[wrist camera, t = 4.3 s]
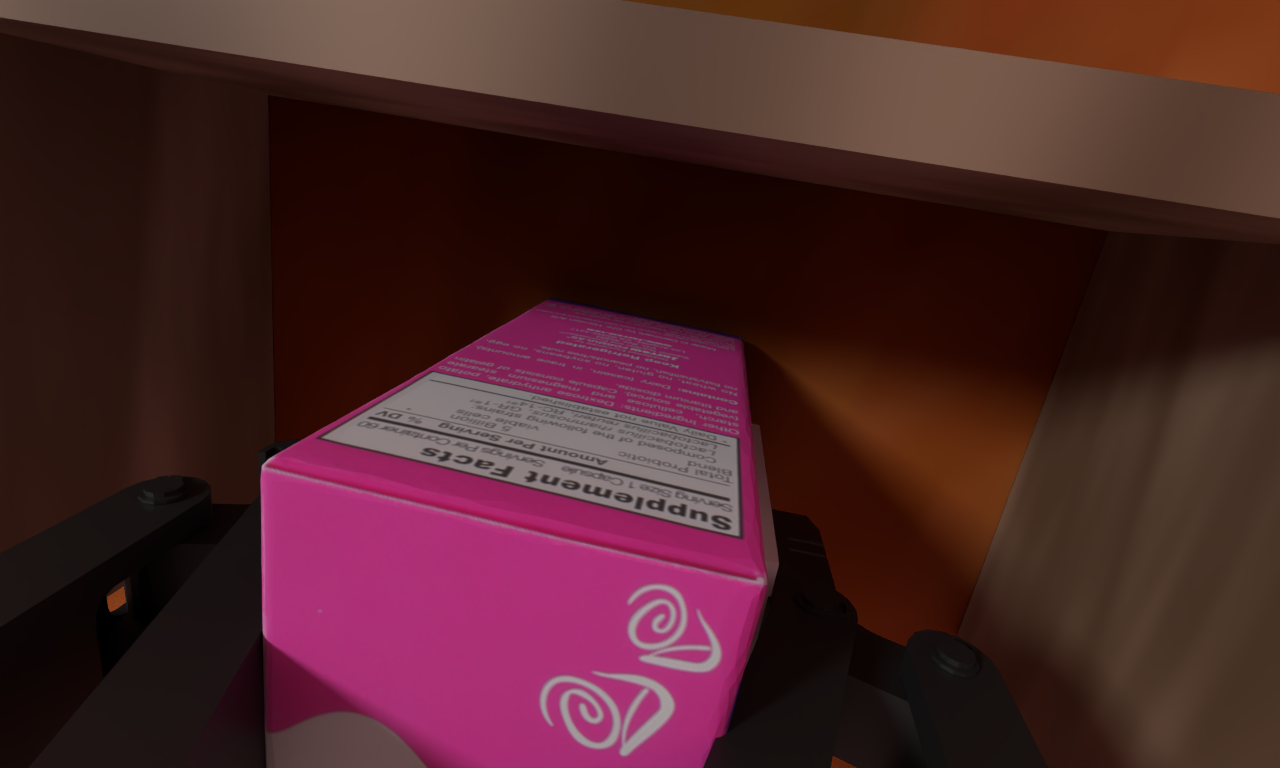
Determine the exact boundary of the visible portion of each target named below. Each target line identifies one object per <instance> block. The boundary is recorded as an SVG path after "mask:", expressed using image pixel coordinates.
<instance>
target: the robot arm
mask: <svg viewBox="0 0 1280 768" xmlns="http://www.w3.org/2000/svg"><path fill="white" fill-rule="evenodd" d="M751 426H752V435H753V445H754V455H755V462H756V475H757V484H758V493H759V504H760V515H761V525H762V535H763V545H764V555H765V563H766V569H767V575H768V586H767V592H766V595H765V599H764V602H763V606H762V609H761V613H760V616H759V620H758V623H757V627H756V630H755V633H754V637H753V640H752V644H751V648H750V651H749V655H748V659H747V662H746V666H745V670H744V673H743V677H742V680H741V684H740V688H739V691H738V695H737V699H736V702H735V706H734V710H733V713H732V717H731V720H730V724H729V727H728V731H727V734H725V735H723V736H721V737H717V738H715V740H714V743H713V745H712V747H711V750H710V752H709V755H708V757H707V759H706V762H705V764H704V766H703V768H830V767H831V762H832V756H835V757H837V758H839V759H841V760H843V761H845V762H847V763H849V764H851V765H853V766H855V767H857V768H1048V766H1047V764H1046V762H1045V760H1044V758H1043V757H1042V755H1041V753H1040V751H1039V749H1038V747H1037V745H1036V743H1035V741H1034V739H1033V737H1032V735H1031V733H1030V731H1029V729H1028V727H1027V725H1026V723H1025V721H1024V719H1023V717H1022V715H1021V713H1020V711H1019V709H1018V707H1017V705H1016V703H1015V701H1014V699H1013V697H1012V695H1011V693H1010V691H1009V689H1008V687H1007V685H1006V683H1005V681H1004V679H1003V677H1002V675H1001V673H1000V671H999V670H998V669H997V667H996V666H995V665H994V663H993V662H992V661H991V659H990V658H989V657H987V656H986V655H985V654H984V653H983V652H981V651H980V650H979V649H978V648H976V647H975V646H974V645H972V644H970V643H969V642H966V641H964V640H963V639H961V638H959V637H957V636H953V635H950V634H947V633H944V632H939V631H931V630H924V631H919V632H915V633H914V634H913V635H912V636H911V637H910V638H909V640H908V643H907V646H906V647H904V646H902V645H900V644H897V643H895V642H892V641H890V640H888V639H885V638H883V637H880V636H878V635H876V634H874V633H872V632H870V631H868V630H867V629H865V628H864V627H862V626H861V625H859V624H858V623H857V622H858V618H857V612H856V609H855V608H854V606H853V605H852V604H851V602H850V601H849V600H848V599H847V598H845V597H844V596H843V595H842V594H840V593H839V592H838V591H836V589H835V585H834V582H833V578H832V574H831V571H830V567H829V564H828V560H827V558H826V553H825V549H824V546H823V542H822V538H821V535H820V531H819V529H818V528H817V527H816V526H815V525H814V524H813V523H812V522H811V521H810V520H809V518H808V517H807V516H803V515H798V514H793V513H788V512H783V511H778V510H773V509H771V503H770V496H769V489H768V482H767V475H766V468H765V460H764V453H763V446H762V439H761V432H760V425H758V424H752V423H751ZM301 440H303V439H295V440H288V441H281V442H278V443H275V444H272V445H269V446H266V447H265V448H263V449H262V450H260V451H258V469H259V496H258V497H257V498H256V499H255V500H254V502H253V503H252V504H212V491H211V486H210V485H209V484H208V483H207V482H206V481H205V480H202V479H199V478H196V477H188V476H181V475H171V476H170V477H169V476H160V477H157V478H155V479H150V480H146V481H142V482H139V483H137V484H134V485H132V486H129V487H127V488H125V489H123V490H121V491H119V492H117V493H115V494H113V495H112V496H110V497H108V498H106V499H104V500H102V501H100V502H98V503H96V504H94V505H92V506H90V507H88V508H87V509H85V510H83V511H81V512H79V513H77V514H75V515H73V516H71V517H69V518H67V519H65V520H64V521H62V522H60V523H58V524H56V525H54V526H52V527H50V528H48V529H46V530H44V531H42V532H40V533H39V534H37V535H35V536H33V537H31V538H29V539H27V540H25V541H23V542H21V543H19V544H17V545H16V546H14V547H12V548H10V549H8V550H6V551H4V552H2V553H0V768H266V756H265V728H264V682H263V624H262V565H261V481H260V479H261V470H262V465H263V464H264V463H265V462H266V461H267V460H268V459H269V458H271V457H273V456H274V455H276V454H278V453H280V452H281V451H283V450H285V449H287V448H288V447H290V446H292V445H294V444H295V443H297V442H299V441H301ZM122 581H124V588H125V597H126V603H125V604H123V605H122V606H121V607H119V608H118V609H116V610H114V611H112V612H110V611H109V609H108V604H107V597H106V595H107V594H108V593H109V592H110V591H111V590H112V589H113V588H114V587H115V586H116V585H118V584H119V583H121V582H122Z"/></svg>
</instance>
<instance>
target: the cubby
mask: <svg viewBox="0 0 1280 768" xmlns="http://www.w3.org/2000/svg"><path fill="white" fill-rule="evenodd" d="M268 95H271V96H277V97H284V98H290V99H296V100H302V101H308V102H314V103H321V104H327V105H333V106H339V107H345V108H352V109H358V110H364V111H370V112H376V113H382V114H389V115H395V116H401V117H407V118H413V119H419V120H426V121H432V122H438V123H444V124H450V125H456V126H463V127H469V128H475V129H481V130H487V131H494V132H500V133H506V134H512V135H518V136H524V137H531V138H537V139H543V140H549V141H555V142H561V143H568V144H574V145H580V146H586V147H592V148H598V149H605V150H611V151H617V152H623V153H629V154H635V155H642V156H648V157H654V158H660V159H666V160H673V161H679V162H685V163H691V164H697V165H703V166H710V167H716V168H722V169H728V170H734V171H740V172H747V173H753V174H759V175H765V176H771V177H777V178H784V179H790V180H796V181H802V182H808V183H814V184H821V185H827V186H833V187H839V188H845V189H852V190H858V191H864V192H870V193H876V194H882V195H889V196H895V197H901V198H907V199H913V200H919V201H926V202H932V203H938V204H944V205H950V206H956V207H963V208H969V209H975V210H981V211H987V212H993V213H1000V214H1006V215H1012V216H1018V217H1024V218H1031V219H1037V220H1043V221H1049V222H1055V223H1061V224H1068V225H1074V226H1080V227H1086V228H1092V229H1098V230H1105V231H1108V234H1107V236H1106V239H1105V242H1104V244H1103V247H1102V250H1101V252H1100V255H1099V258H1098V260H1097V263H1096V266H1095V268H1094V271H1093V274H1092V276H1091V279H1090V282H1089V284H1088V287H1087V290H1086V292H1085V295H1084V298H1083V300H1082V303H1081V306H1080V308H1079V311H1078V314H1077V316H1076V319H1075V322H1074V324H1073V327H1072V330H1071V332H1070V335H1069V338H1068V340H1067V343H1066V346H1065V348H1064V351H1063V354H1062V356H1061V359H1060V362H1059V364H1058V367H1057V370H1056V372H1055V375H1054V378H1053V380H1052V383H1051V386H1050V388H1049V391H1048V394H1047V396H1046V399H1045V402H1044V404H1043V407H1042V410H1041V412H1040V415H1039V418H1038V420H1037V423H1036V426H1035V428H1034V431H1033V434H1032V436H1031V439H1030V442H1029V444H1028V447H1027V450H1026V452H1025V455H1024V458H1023V460H1022V463H1021V466H1020V468H1019V471H1018V474H1017V476H1016V479H1015V482H1014V484H1013V487H1012V490H1011V492H1010V495H1009V498H1008V500H1007V503H1006V506H1005V508H1004V511H1003V514H1002V516H1001V519H1000V522H999V524H998V527H997V530H996V532H995V535H994V538H993V540H992V543H991V546H990V548H989V551H988V554H987V556H986V559H985V562H984V564H983V567H982V570H981V572H980V575H979V578H978V580H977V583H976V586H975V588H974V591H973V594H972V596H971V599H970V602H969V604H968V607H967V610H966V612H965V615H964V618H963V620H962V623H961V626H960V628H959V631H958V634H957V636H958V637H959V638H961V639H963V640H964V641H966V642H969V643H970V644H972V645H974V646H975V647H976V648H978V649H979V650H980V651H981V652H983V653H984V654H985V655H986V656H987V657H989V658H990V659H991V661H992V662H993V663H994V665H995V666H996V667H997V669H998V670H999V671H1000V673H1001V675H1002V677H1003V679H1004V681H1005V683H1006V685H1007V687H1008V689H1009V691H1010V693H1011V695H1012V697H1013V699H1014V701H1015V703H1016V705H1017V707H1018V709H1019V711H1020V713H1021V715H1022V717H1023V719H1024V721H1025V723H1026V725H1027V727H1028V729H1029V731H1030V733H1031V735H1032V737H1033V739H1034V741H1035V743H1036V745H1037V747H1038V749H1039V751H1040V753H1041V755H1042V757H1043V758H1044V760H1045V762H1046V764H1047V766H1048V768H1280V94H1276V93H1269V92H1262V91H1254V90H1247V89H1240V88H1233V87H1226V86H1219V85H1212V84H1205V83H1198V82H1191V81H1184V80H1177V79H1170V78H1163V77H1156V76H1149V75H1142V74H1135V73H1128V72H1121V71H1114V70H1107V69H1100V68H1093V67H1086V66H1079V65H1072V64H1065V63H1058V62H1051V61H1044V60H1037V59H1030V58H1023V57H1016V56H1009V55H1002V54H995V53H988V52H981V51H974V50H967V49H960V48H953V47H946V46H938V45H931V44H924V43H917V42H910V41H903V40H896V39H889V38H882V37H875V36H868V35H861V34H854V33H847V32H840V31H833V30H826V29H819V28H812V27H805V26H798V25H791V24H784V23H777V22H770V21H763V20H756V19H749V18H742V17H735V16H728V15H721V14H714V13H707V12H700V11H693V10H686V9H679V8H672V7H665V6H658V5H651V4H644V3H637V2H630V1H622V0H0V553H2V552H4V551H6V550H8V549H10V548H12V547H14V546H16V545H17V544H19V543H21V542H23V541H25V540H27V539H29V538H31V537H33V536H35V535H37V534H39V533H40V532H42V531H44V530H46V529H48V528H50V527H52V526H54V525H56V524H58V523H60V522H62V521H64V520H65V519H67V518H69V517H71V516H73V515H75V514H77V513H79V512H81V511H83V510H85V509H87V508H88V507H90V506H92V505H94V504H96V503H98V502H100V501H102V500H104V499H106V498H108V497H110V496H112V495H113V494H115V493H117V492H119V491H121V490H123V489H125V488H127V487H129V486H132V485H134V484H137V483H139V482H142V481H146V480H150V479H155V478H157V477H160V476H169V477H170V476H171V475H181V476H188V477H196V478H199V479H202V480H205V481H206V482H207V483H208V484H209V485H210V486H211V491H212V504H252V503H253V502H254V500H255V499H256V498H257V497H258V496H259V469H258V451H260V450H262V449H263V448H265V447H266V446H269V445H272V444H275V414H274V364H273V313H272V263H271V212H270V162H269V111H268ZM123 586H124V581H122V582H121V583H119V584H118V585H116V586H115V587H114V588H113V589H112V590H111V591H110V592H109V593H108V594H107V595H106V597H107V596H109V595H111V594H112V593H114V592H115V591H117V590H118V589H120V588H122V587H123Z"/></svg>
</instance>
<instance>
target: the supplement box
mask: <svg viewBox="0 0 1280 768" xmlns="http://www.w3.org/2000/svg"><path fill="white" fill-rule="evenodd" d="M260 481H261V565H262V624H263V682H264V728H265V756H266V768H703V766H704V764H705V762H706V759H707V757H708V755H709V752H710V750H711V747H712V745H713V743H714V740H715V738H717V737H721V736H723V735H725V734H727V731H728V727H729V724H730V720H731V717H732V713H733V710H734V706H735V702H736V699H737V695H738V691H739V688H740V684H741V680H742V677H743V673H744V670H745V666H746V662H747V659H748V655H749V651H750V648H751V644H752V640H753V637H754V633H755V630H756V627H757V623H758V620H759V616H760V613H761V609H762V606H763V602H764V599H765V595H766V592H767V586H768V575H767V569H766V563H765V555H764V545H763V535H762V525H761V515H760V504H759V493H758V484H757V475H756V462H755V455H754V445H753V435H752V426H751V413H750V403H749V395H748V381H747V371H746V361H745V354H744V341H743V339H742V338H740V337H737V336H733V335H729V334H724V333H718V332H714V331H709V330H705V329H700V328H695V327H690V326H685V325H680V324H676V323H671V322H667V321H662V320H657V319H653V318H648V317H643V316H638V315H634V314H629V313H624V312H619V311H614V310H610V309H605V308H600V307H595V306H590V305H585V304H580V303H574V302H569V301H564V300H558V299H553V298H551V299H547V300H546V301H544V302H542V303H541V304H539V305H537V306H535V307H534V308H532V309H530V310H529V311H527V312H525V313H524V314H522V315H520V316H519V317H517V318H515V319H514V320H512V321H510V322H508V323H506V324H505V325H502V326H501V327H499V328H497V329H495V330H494V331H492V332H490V333H489V334H487V335H485V336H483V337H482V338H480V339H478V340H476V341H475V342H473V343H472V344H470V345H468V346H466V347H464V348H462V349H461V350H459V351H457V352H455V353H453V354H451V355H450V356H448V357H447V358H445V359H443V360H442V361H440V362H438V363H437V364H435V365H433V366H432V367H430V368H428V369H427V370H425V371H423V372H421V373H419V374H417V375H416V376H414V377H413V378H411V379H410V380H408V381H406V382H405V383H403V384H401V385H399V386H397V387H395V388H393V389H391V390H390V391H388V392H386V393H384V394H383V395H381V396H379V397H378V398H376V399H374V400H372V401H370V402H368V403H367V404H365V405H363V406H361V407H360V408H358V409H356V410H354V411H353V412H351V413H349V414H347V415H345V416H344V417H342V418H340V419H338V420H337V421H335V422H333V423H331V424H329V425H327V426H326V427H324V428H322V429H320V430H318V431H317V432H315V433H313V434H312V435H310V436H308V437H306V438H304V439H303V440H301V441H299V442H297V443H295V444H294V445H292V446H290V447H288V448H287V449H285V450H283V451H281V452H280V453H278V454H276V455H274V456H273V457H271V458H269V459H268V460H267V461H266V462H265V463H264V464H263V465H262V470H261V479H260Z"/></svg>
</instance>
